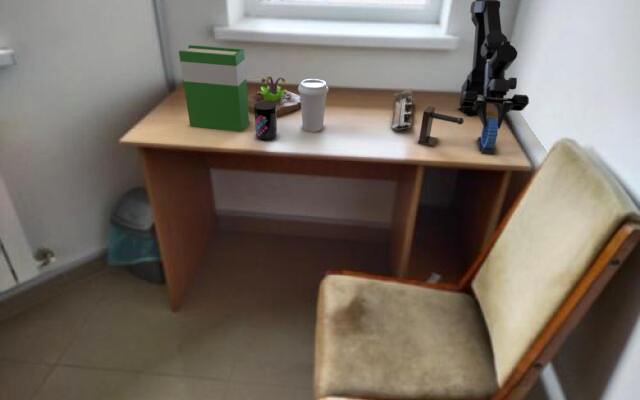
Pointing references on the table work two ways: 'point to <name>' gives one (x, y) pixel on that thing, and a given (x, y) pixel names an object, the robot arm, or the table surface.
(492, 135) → the blue ridged ring
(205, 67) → the hardback book
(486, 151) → the tape cradle
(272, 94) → the plant
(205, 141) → the table surface
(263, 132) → the supplement container
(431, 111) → the hook stand
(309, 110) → the coffee cup
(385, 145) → the table surface
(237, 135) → the table surface
